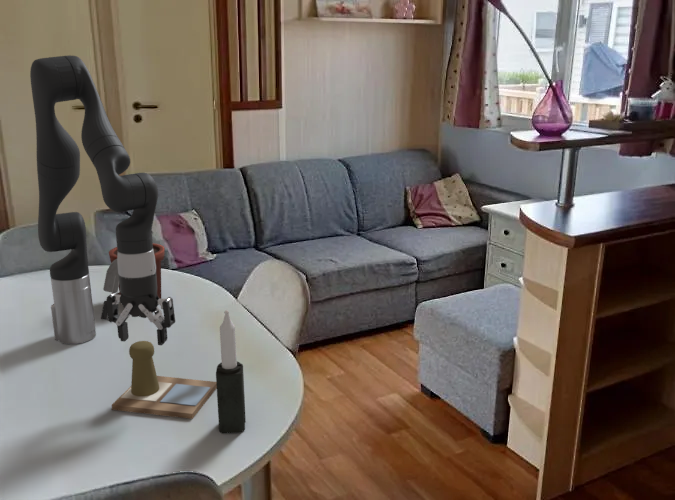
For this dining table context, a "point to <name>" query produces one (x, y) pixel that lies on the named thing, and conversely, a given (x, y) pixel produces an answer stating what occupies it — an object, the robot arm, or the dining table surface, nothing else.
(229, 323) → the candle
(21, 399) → the dining table surface
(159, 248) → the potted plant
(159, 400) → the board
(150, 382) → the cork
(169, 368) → the dining table surface
